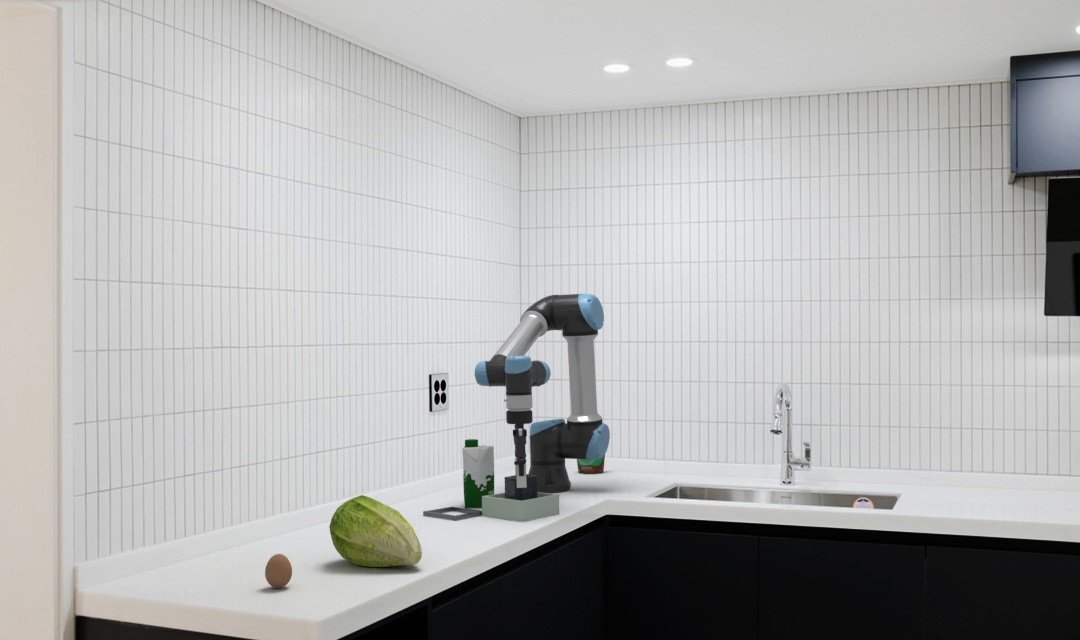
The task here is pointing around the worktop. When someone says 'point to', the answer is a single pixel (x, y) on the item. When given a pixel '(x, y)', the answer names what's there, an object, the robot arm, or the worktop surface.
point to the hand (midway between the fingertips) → (520, 483)
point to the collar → (438, 514)
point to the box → (521, 493)
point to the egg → (278, 571)
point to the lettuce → (373, 534)
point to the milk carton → (477, 472)
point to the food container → (591, 466)
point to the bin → (520, 507)
